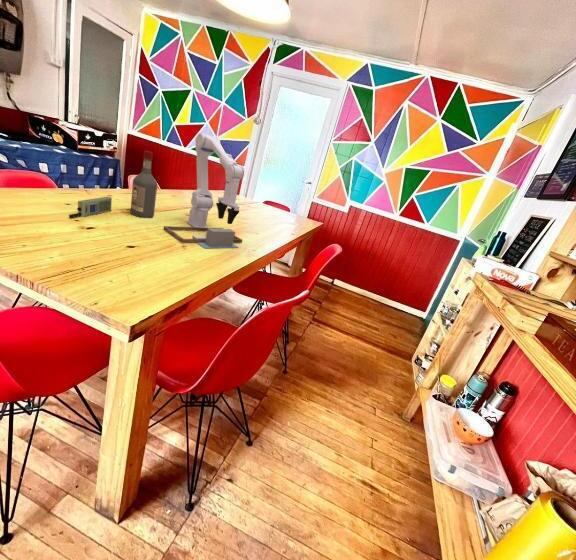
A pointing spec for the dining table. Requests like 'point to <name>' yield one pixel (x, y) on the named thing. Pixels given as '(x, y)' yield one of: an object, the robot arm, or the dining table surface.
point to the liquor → (144, 190)
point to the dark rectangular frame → (170, 228)
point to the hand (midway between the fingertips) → (225, 221)
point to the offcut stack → (199, 237)
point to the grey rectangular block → (219, 237)
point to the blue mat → (215, 247)
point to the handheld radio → (93, 207)
